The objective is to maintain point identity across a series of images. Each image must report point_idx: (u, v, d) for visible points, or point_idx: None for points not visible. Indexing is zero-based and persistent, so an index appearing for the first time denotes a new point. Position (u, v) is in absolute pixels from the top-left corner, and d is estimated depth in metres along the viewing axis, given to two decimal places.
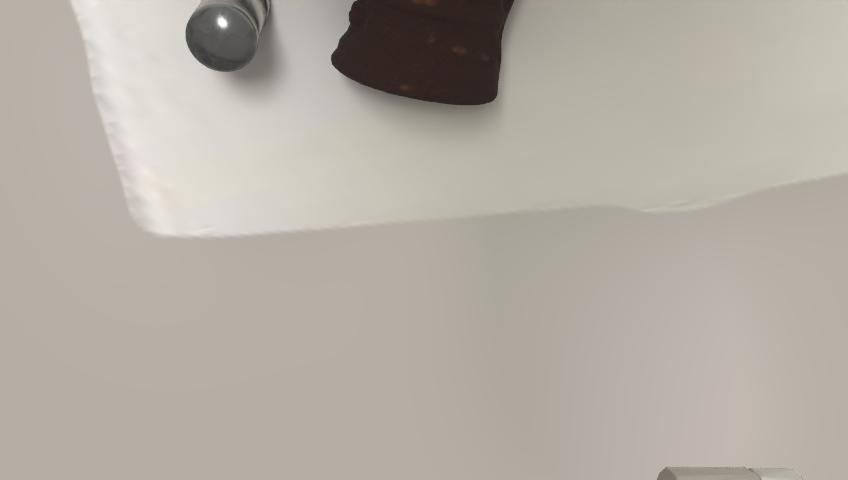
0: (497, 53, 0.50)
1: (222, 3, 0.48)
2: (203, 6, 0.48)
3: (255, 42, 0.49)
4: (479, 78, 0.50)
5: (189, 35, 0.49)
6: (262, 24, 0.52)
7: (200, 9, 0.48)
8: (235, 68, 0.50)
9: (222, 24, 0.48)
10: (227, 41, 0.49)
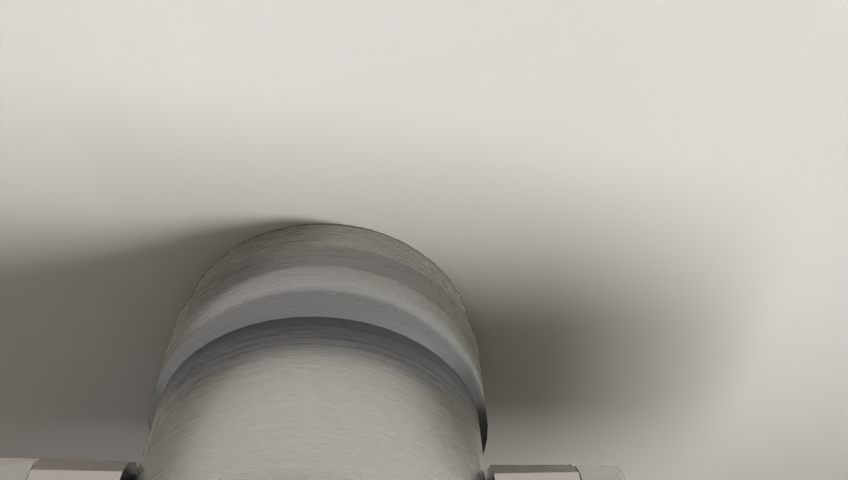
0: None
1: None
2: None
3: None
4: None
5: None
6: None
7: None
8: None
9: None
10: None
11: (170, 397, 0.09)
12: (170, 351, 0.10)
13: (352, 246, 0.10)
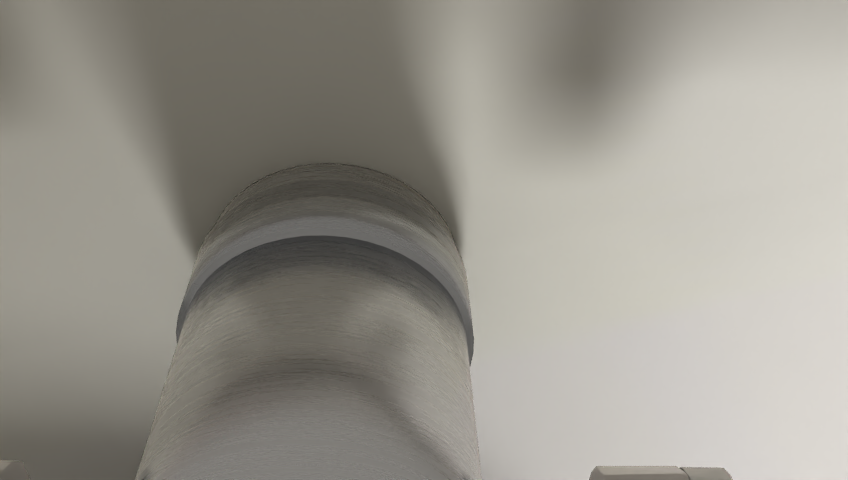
0: None
1: None
2: None
3: None
4: None
5: None
6: None
7: None
8: None
9: None
10: None
11: (198, 304, 0.10)
12: (196, 270, 0.11)
13: (355, 181, 0.12)
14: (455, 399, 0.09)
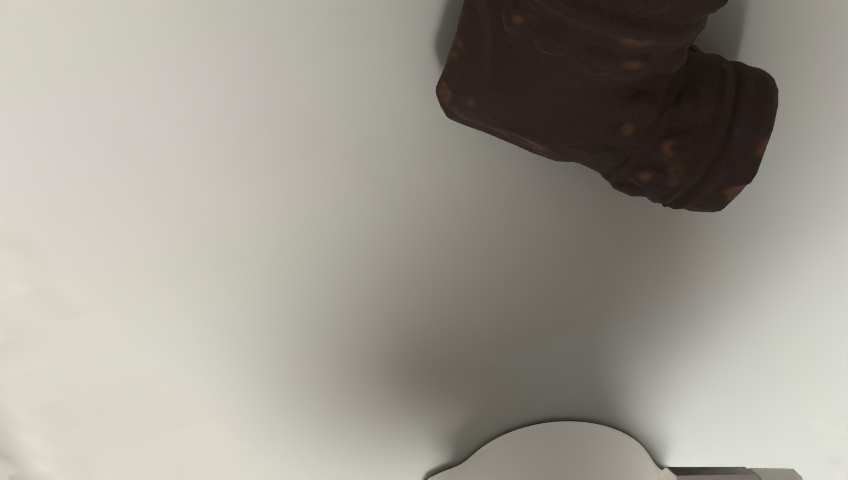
0: None
1: None
2: None
3: None
4: None
5: None
6: None
7: None
8: None
9: None
10: None
11: None
12: None
13: None
14: None
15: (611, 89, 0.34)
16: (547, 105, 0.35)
